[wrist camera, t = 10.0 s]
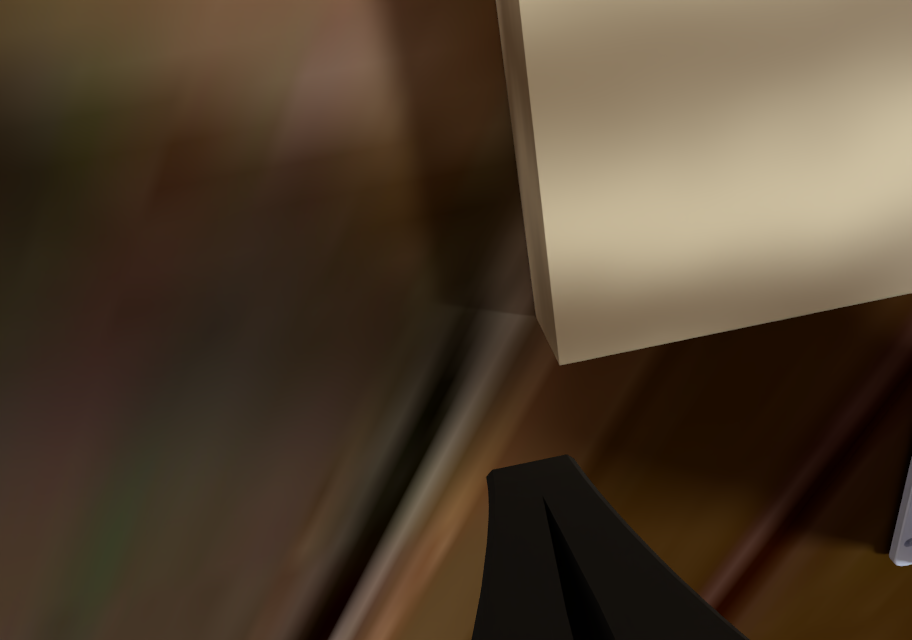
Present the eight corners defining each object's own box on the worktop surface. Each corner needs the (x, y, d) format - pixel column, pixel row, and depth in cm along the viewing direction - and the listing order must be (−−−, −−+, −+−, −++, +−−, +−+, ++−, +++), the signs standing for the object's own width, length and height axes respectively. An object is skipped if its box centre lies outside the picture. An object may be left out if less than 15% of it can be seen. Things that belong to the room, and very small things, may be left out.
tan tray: (897, 243, 20) (976, 279, 17) (535, 317, 20) (559, 365, 17) (1003, -353, 13) (1158, -443, 11) (464, -249, 13) (483, -314, 10)
